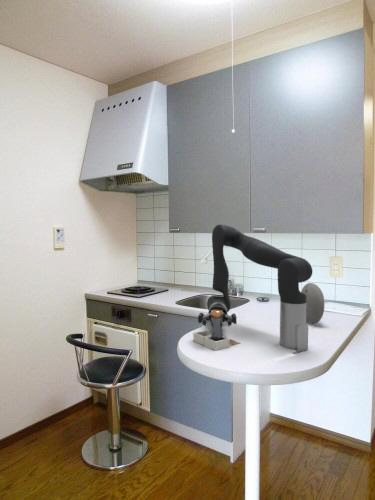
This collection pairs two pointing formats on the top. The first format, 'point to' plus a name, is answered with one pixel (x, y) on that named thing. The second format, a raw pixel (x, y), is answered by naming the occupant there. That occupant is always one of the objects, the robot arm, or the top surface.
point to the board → (231, 343)
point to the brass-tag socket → (217, 343)
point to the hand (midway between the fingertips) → (216, 323)
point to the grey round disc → (313, 302)
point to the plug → (216, 325)
